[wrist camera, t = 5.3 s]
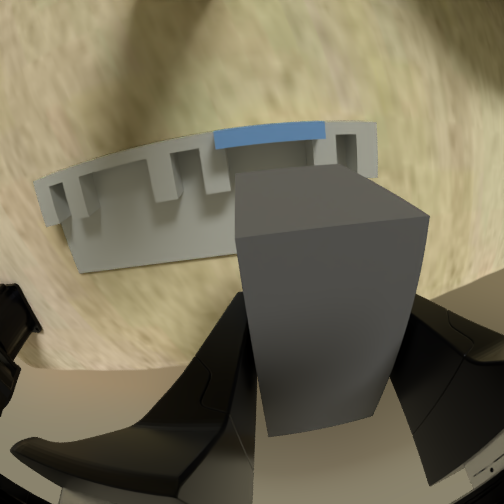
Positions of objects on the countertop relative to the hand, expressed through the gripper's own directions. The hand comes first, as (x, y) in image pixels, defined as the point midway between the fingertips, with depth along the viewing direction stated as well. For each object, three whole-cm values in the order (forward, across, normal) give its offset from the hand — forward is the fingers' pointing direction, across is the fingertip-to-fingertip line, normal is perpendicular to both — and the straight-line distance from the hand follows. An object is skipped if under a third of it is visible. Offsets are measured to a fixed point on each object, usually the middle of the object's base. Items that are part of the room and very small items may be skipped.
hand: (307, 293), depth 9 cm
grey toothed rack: (+11, +5, -1) cm, 12 cm away
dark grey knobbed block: (+2, 0, +1) cm, 3 cm away
